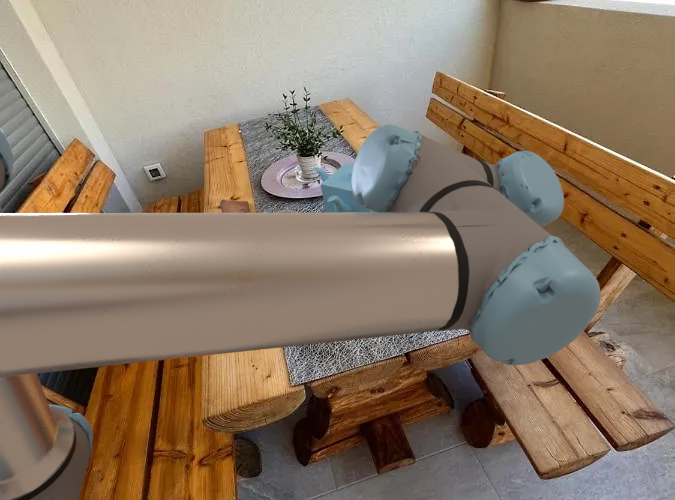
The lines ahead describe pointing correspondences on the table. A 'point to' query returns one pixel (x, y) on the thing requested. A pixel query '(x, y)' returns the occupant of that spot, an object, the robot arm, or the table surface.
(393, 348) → the table surface
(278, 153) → the table surface
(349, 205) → the teakettle
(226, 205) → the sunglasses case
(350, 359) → the table surface
